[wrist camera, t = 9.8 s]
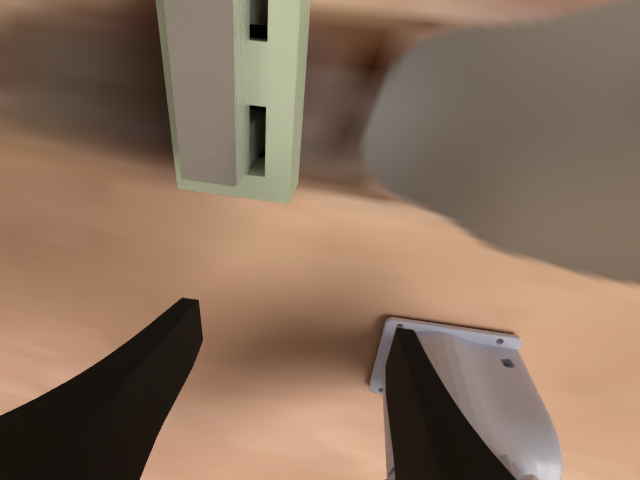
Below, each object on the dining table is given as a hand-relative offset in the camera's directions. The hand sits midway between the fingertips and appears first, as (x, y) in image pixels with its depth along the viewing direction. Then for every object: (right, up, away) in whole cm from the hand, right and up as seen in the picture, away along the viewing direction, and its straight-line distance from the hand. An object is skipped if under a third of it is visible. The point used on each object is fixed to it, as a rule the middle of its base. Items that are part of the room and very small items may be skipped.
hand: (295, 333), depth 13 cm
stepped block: (-3, +12, +5) cm, 14 cm away
